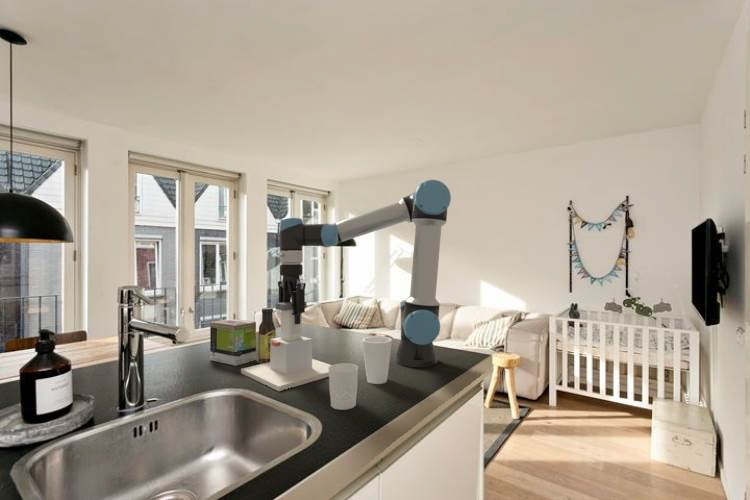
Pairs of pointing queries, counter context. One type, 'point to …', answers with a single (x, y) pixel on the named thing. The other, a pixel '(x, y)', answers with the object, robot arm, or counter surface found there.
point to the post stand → (288, 365)
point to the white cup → (343, 385)
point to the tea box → (233, 341)
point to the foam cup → (377, 358)
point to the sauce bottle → (265, 335)
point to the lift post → (288, 322)
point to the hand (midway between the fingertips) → (291, 332)
